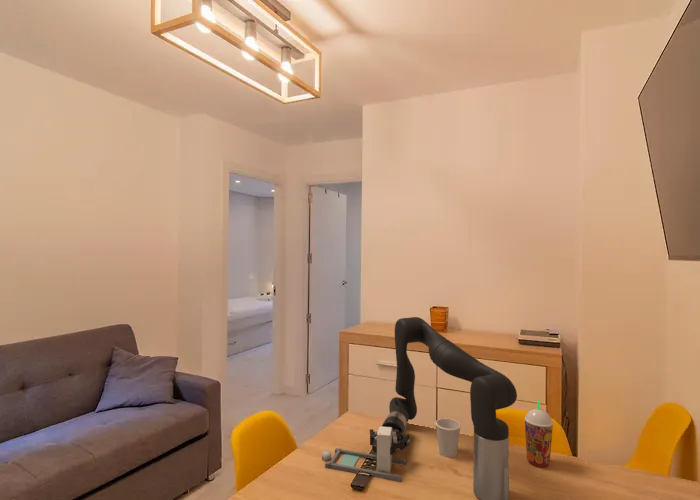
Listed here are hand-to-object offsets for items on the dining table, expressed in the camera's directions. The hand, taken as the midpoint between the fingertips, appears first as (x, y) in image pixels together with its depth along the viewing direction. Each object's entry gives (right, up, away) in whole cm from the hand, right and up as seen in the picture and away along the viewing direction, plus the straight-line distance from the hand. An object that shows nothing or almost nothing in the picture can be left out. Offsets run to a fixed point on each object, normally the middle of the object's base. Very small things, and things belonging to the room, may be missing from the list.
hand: (383, 450), depth 122 cm
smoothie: (+50, -7, +7) cm, 51 cm away
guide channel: (-6, -7, +5) cm, 11 cm away
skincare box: (+1, -7, +3) cm, 8 cm away
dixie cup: (+23, -7, +12) cm, 27 cm away
